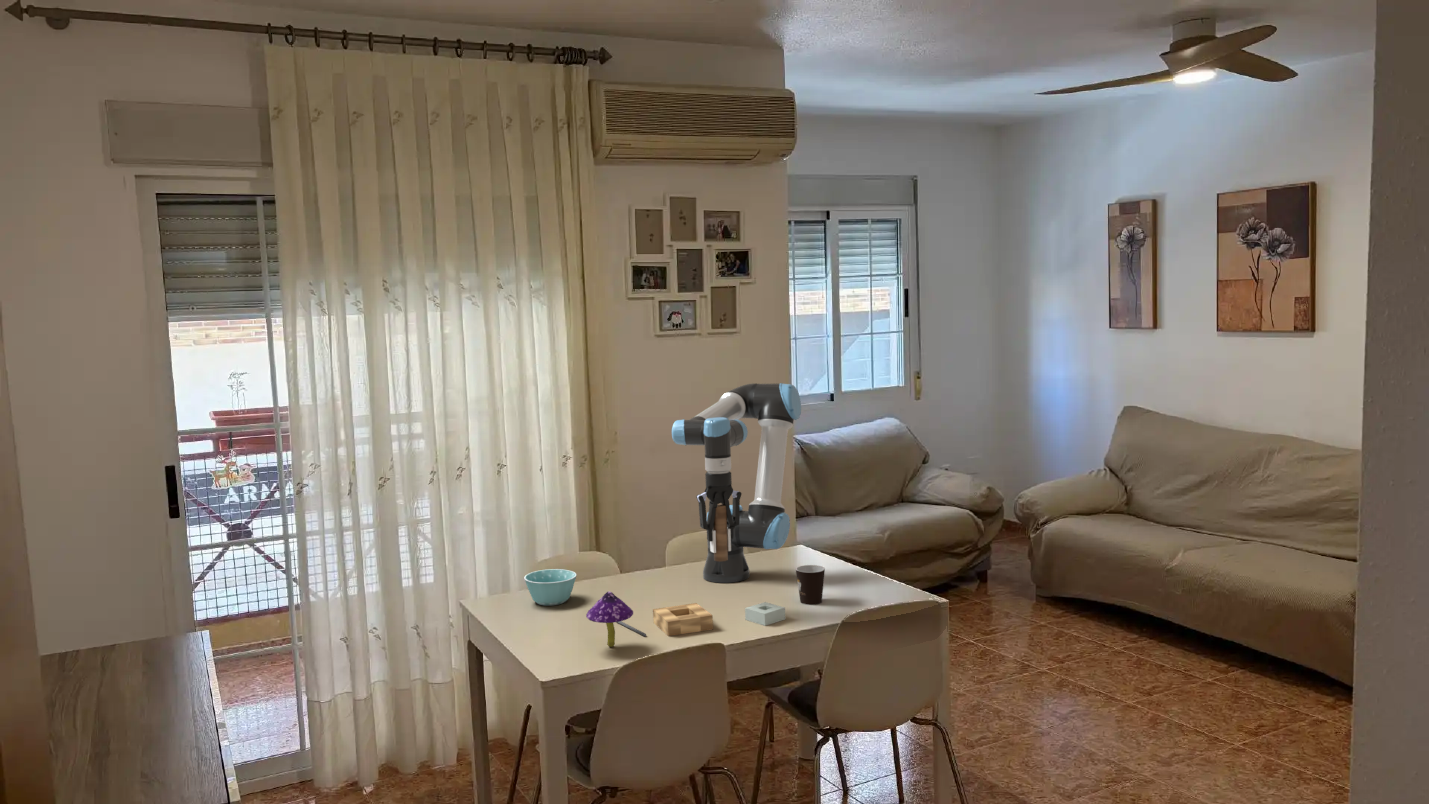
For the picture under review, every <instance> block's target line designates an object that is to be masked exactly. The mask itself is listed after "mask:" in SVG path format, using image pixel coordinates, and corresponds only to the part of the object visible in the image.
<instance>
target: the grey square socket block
mask: <svg viewBox="0 0 1429 804" xmlns="http://www.w3.org/2000/svg"><path fill="white" fill-rule="evenodd" d="M744 613H745V616H744V617H745V618H744V619H745V621H748V622H752V623H755V624H757V625H761V626H764V627H767V626H769V625H772V624H774V623H775V624H776V623H778V622H781V621H784V620H786V607H784V606H781V605H778V604H774V603H771V602H767V601H765V602H764V601H763V602H761V603H758V604H753V605H750V606H747V607H745V608H744Z"/></svg>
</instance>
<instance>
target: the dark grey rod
mask: <svg viewBox="0 0 1429 804" xmlns="http://www.w3.org/2000/svg"><path fill="white" fill-rule="evenodd" d="M616 623H618V624H619V625H621V626H623V627H625V628H627V629H629V630H631V631H633V632H635V633H636V634H638V635H641V636H643V637H647V634H646V633H645V632H643V631H641V630H639V629H637V628H635V627H633V626H631V625H630V624H627V623H625V622H623V621H620V622H616Z"/></svg>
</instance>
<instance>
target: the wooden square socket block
mask: <svg viewBox="0 0 1429 804" xmlns="http://www.w3.org/2000/svg"><path fill="white" fill-rule="evenodd" d="M652 616H653V617H652V618H653V624H654V625H655V626H656V627H658V628H659V629H660V630H661V631H662V632H663V633H664V634H665V635H667V636H668V637H672V636H678V635H684V634H691V633H697V632H698V633H699V632H704V631H710V630H713V629H714V623H713V622H714V621H713V620H714V619H713V614H711V613H710V612H709V611H707V610H706V609H705V608H704V607H703V606H701V605H699V604H698V603H697V602H694V603H693V602H692V603H687V604H679V605H673V606H667V607H659V608H653V609H652Z"/></svg>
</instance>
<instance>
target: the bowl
mask: <svg viewBox="0 0 1429 804" xmlns="http://www.w3.org/2000/svg"><path fill="white" fill-rule="evenodd" d="M523 577H524V578H523V579H524V582H525V584H526V587H527V590H528V593H529V594H530V596H531V598H532V600H533V602H535V603H536V604H537V605H539V606H546V607H547V606H549V607H550V606H551V607H552V606H558V605H561V604H564V603H566V602H567V601H568V600H569V599H570V598H571V595H572V591H573V588H574V586H575V582H576V579H577V573H576V572H575V571H573V570H568V569H562V568H561V569H560V568H555V569H554V568H552V569H550V568H548V569H542V570H535V571H532V572H529V573H527V574H526V575H525V576H523Z"/></svg>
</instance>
